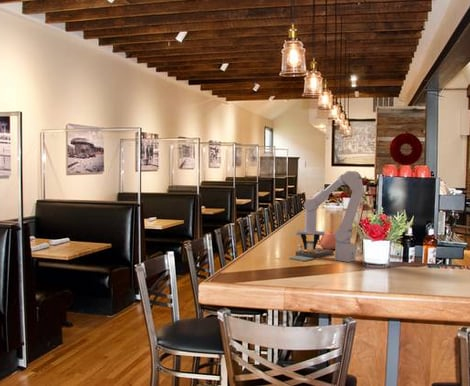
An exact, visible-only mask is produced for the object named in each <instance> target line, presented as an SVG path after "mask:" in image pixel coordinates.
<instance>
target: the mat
mask: <svg viewBox="0 0 470 386" xmlns="http://www.w3.org/2000/svg"><path fill="white" fill-rule="evenodd" d="M288 258H289V260H294V261H301V262H308V261H313V260H314V259H315V258H309V257H303V256H296V255H294V256H291V257H288Z"/></svg>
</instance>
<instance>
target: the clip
mask: <svg viewBox="0 0 470 386" xmlns="http://www.w3.org/2000/svg"><path fill="white" fill-rule="evenodd" d="M297 246H298V251H299V252H302V250H303V245H302V244H301V243H298V244H297Z"/></svg>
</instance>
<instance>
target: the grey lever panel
mask: <svg viewBox="0 0 470 386" xmlns="http://www.w3.org/2000/svg"><path fill="white" fill-rule="evenodd" d="M331 254H332V255H335V250H334V249H325V248H322V247H315V253H306V252H304V249H302V252H299V250H298V251H295V256H303V257H309V258H314V259H315V258H321V257H326V255H327V256H331Z"/></svg>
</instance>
